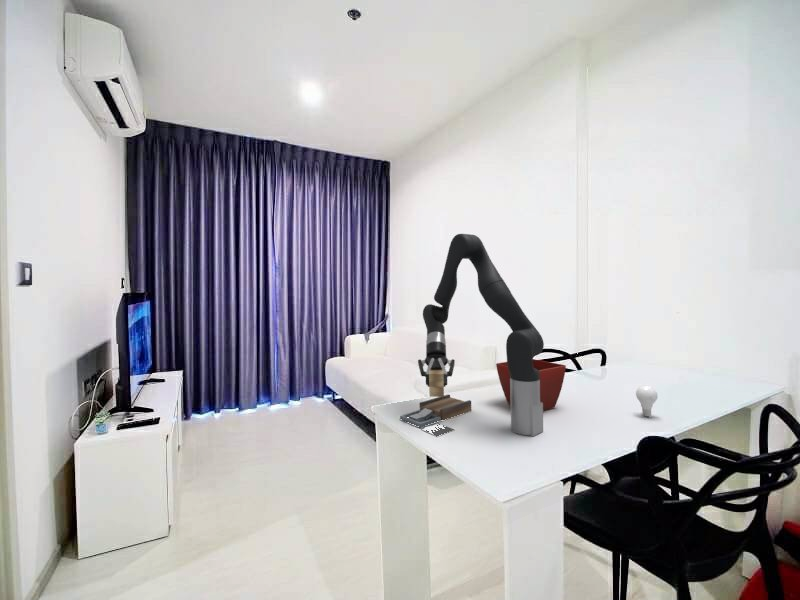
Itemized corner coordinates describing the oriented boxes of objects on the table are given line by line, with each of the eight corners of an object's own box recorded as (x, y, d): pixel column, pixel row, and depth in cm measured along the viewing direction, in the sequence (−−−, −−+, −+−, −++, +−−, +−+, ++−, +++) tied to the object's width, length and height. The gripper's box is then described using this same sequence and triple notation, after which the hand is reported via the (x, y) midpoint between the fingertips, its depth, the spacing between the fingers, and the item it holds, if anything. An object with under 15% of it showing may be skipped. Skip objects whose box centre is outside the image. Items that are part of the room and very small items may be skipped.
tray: (440, 421, 131) (440, 416, 130) (420, 428, 124) (420, 423, 124) (420, 413, 139) (420, 409, 139) (400, 419, 133) (399, 415, 133)
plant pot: (495, 404, 148) (494, 362, 148) (529, 396, 157) (528, 357, 156) (532, 418, 131) (531, 371, 131) (568, 409, 140) (567, 365, 139)
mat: (454, 430, 122) (454, 429, 122) (437, 436, 117) (437, 435, 117) (437, 423, 128) (437, 422, 128) (420, 429, 123) (420, 428, 123)
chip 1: (416, 418, 128) (416, 423, 128) (424, 416, 131) (424, 420, 131) (408, 416, 131) (409, 420, 131) (417, 413, 134) (417, 417, 134)
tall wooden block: (443, 391, 133) (443, 370, 132) (443, 396, 127) (443, 373, 126) (429, 391, 133) (429, 370, 133) (429, 396, 127) (429, 373, 127)
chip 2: (433, 414, 133) (432, 410, 133) (426, 420, 131) (425, 416, 130) (426, 411, 136) (425, 407, 136) (418, 417, 134) (417, 413, 133)
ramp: (471, 410, 140) (471, 400, 140) (442, 421, 130) (442, 410, 130) (448, 403, 150) (448, 394, 150) (419, 413, 140) (419, 402, 139)
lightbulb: (648, 420, 126) (647, 389, 125) (631, 414, 132) (631, 384, 131) (662, 418, 127) (661, 387, 127) (645, 412, 133) (645, 383, 133)
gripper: (416, 340, 138) (415, 380, 127) (454, 340, 137) (457, 380, 125) (418, 352, 144) (417, 390, 132) (454, 351, 142) (456, 391, 131)
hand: (436, 385), depth 129 cm, fingers closed on tall wooden block, 5 cm apart
